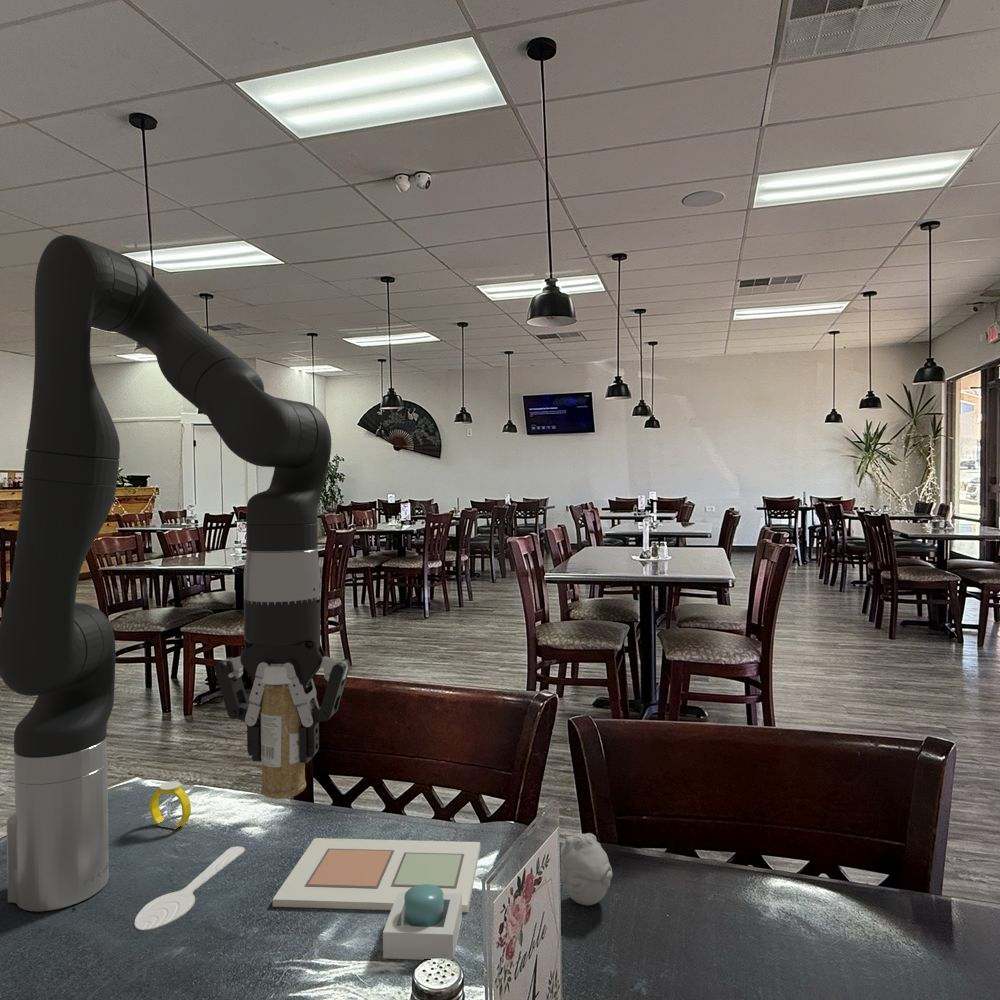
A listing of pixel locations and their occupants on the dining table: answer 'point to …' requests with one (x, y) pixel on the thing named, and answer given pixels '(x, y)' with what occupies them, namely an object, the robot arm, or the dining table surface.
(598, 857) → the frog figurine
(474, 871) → the picture board
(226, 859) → the spoon
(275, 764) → the sprinkles bottle
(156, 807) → the watch
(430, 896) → the button
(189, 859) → the dining table surface
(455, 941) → the button housing
